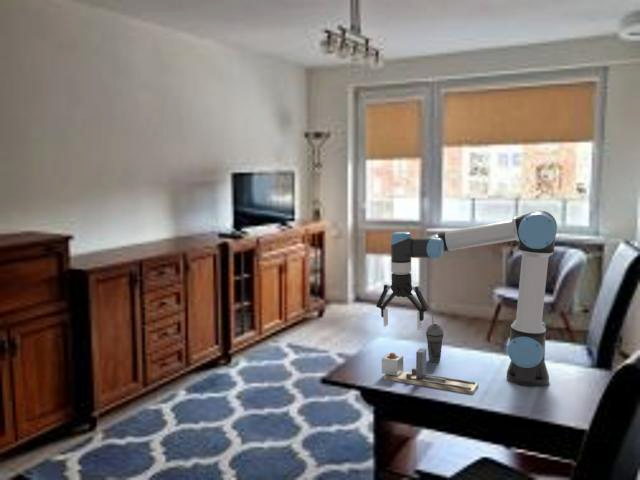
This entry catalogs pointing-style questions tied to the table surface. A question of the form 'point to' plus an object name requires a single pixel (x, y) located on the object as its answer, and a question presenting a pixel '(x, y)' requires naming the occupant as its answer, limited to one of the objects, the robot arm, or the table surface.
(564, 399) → the table surface
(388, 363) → the link
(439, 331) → the beverage cup
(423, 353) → the grey l-shaped block
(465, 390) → the board
